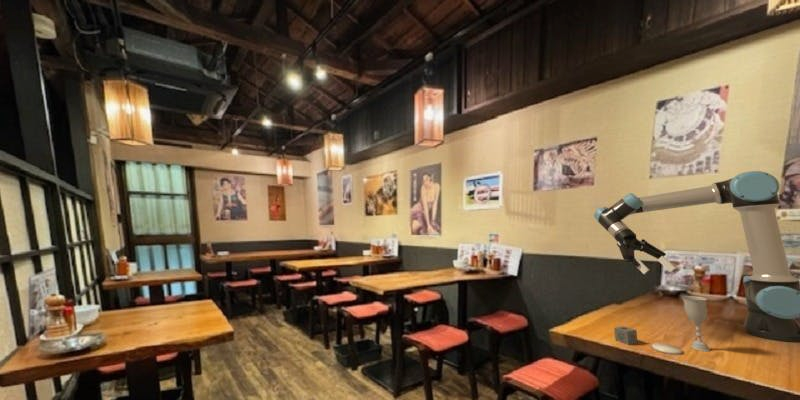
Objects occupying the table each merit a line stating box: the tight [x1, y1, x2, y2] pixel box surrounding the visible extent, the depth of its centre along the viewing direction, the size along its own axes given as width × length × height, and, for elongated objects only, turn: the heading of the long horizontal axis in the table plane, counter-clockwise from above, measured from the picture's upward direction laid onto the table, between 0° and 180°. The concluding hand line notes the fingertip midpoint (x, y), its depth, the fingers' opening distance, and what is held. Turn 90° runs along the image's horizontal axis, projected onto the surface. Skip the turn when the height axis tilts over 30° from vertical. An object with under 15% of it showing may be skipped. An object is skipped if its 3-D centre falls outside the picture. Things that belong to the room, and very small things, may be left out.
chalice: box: [681, 295, 711, 352], centre depth 108 cm, size 7×7×18 cm
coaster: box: [651, 342, 683, 356], centre depth 107 cm, size 8×8×1 cm
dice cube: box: [614, 325, 639, 346], centre depth 116 cm, size 5×5×5 cm
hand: (660, 271), depth 121 cm, fingers open, 13 cm apart
